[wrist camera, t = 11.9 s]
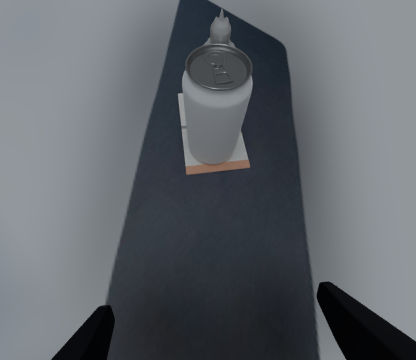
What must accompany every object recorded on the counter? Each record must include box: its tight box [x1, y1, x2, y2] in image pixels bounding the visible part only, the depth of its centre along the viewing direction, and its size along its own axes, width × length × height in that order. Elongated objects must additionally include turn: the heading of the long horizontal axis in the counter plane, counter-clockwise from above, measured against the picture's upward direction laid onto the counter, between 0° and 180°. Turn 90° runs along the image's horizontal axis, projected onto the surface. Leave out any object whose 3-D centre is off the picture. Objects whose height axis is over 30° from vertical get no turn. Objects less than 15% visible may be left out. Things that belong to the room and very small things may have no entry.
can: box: [182, 44, 252, 164], centre depth 22 cm, size 6×6×12 cm
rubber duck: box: [203, 9, 235, 47], centre depth 30 cm, size 5×7×8 cm
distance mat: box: [178, 93, 250, 175], centre depth 29 cm, size 14×8×1 cm, turn 8°
